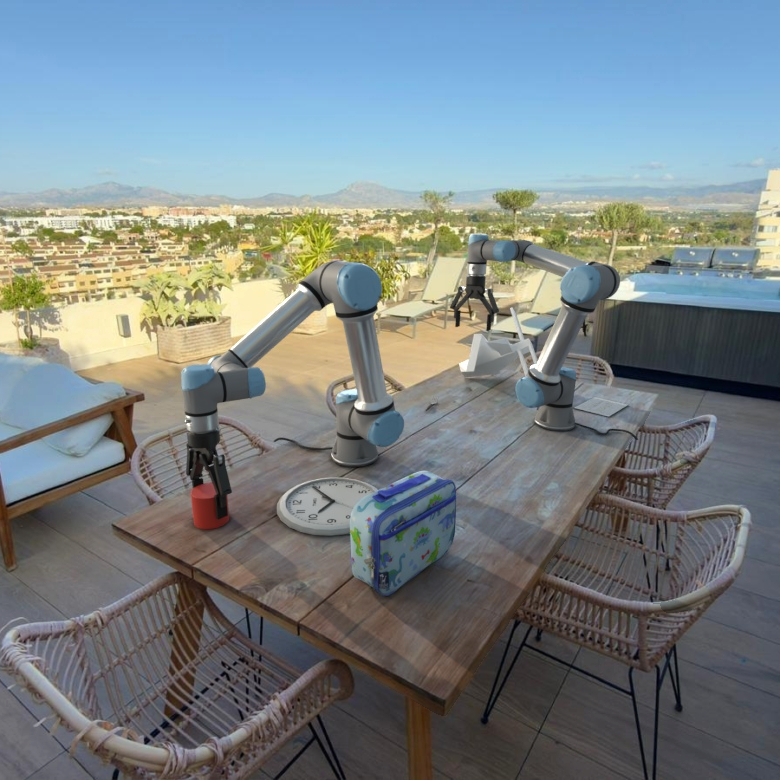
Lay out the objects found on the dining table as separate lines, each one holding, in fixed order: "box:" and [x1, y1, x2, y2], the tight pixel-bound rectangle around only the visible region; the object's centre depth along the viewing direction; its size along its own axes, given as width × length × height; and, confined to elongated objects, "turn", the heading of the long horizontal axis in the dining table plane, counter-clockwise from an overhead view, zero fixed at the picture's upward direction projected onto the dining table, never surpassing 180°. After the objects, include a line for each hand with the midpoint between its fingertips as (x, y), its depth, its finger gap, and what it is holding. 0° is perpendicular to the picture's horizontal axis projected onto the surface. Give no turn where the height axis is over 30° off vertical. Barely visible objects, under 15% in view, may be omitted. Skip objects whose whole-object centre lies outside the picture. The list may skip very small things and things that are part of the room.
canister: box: [190, 481, 230, 530], centre depth 133 cm, size 9×9×9 cm
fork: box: [425, 396, 439, 412], centre depth 222 cm, size 3×16×2 cm, turn 160°
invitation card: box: [573, 396, 629, 418], centre depth 226 cm, size 21×1×15 cm
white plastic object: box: [458, 306, 538, 378], centre depth 258 cm, size 37×45×31 cm
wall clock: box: [276, 476, 380, 537], centre depth 142 cm, size 30×2×30 cm
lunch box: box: [349, 470, 457, 597], centre depth 114 cm, size 26×11×21 cm, turn 134°
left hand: (210, 509), depth 134 cm, fingers open, 10 cm apart
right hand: (472, 328), depth 212 cm, fingers open, 13 cm apart
